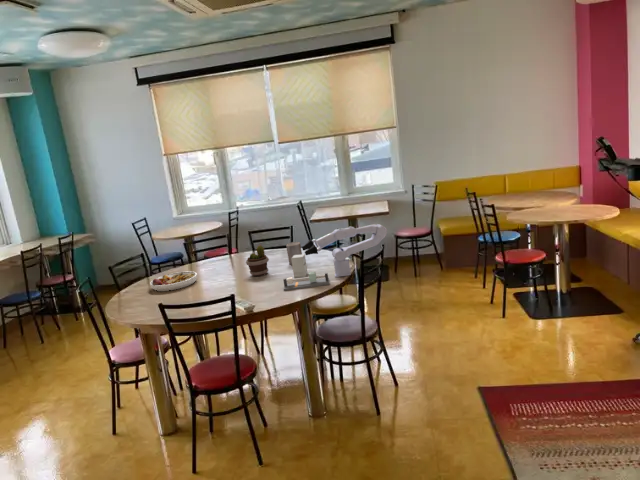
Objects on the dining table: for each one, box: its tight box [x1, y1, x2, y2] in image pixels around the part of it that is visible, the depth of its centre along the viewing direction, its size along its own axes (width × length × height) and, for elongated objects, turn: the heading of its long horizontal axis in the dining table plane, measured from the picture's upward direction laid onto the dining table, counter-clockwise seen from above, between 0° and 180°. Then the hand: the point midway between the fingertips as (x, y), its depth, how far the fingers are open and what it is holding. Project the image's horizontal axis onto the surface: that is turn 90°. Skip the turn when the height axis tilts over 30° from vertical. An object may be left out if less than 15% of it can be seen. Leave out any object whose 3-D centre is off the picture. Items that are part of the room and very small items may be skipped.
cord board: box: [283, 272, 330, 292], centre depth 296 cm, size 26×10×6 cm, turn 89°
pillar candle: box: [285, 241, 303, 266], centre depth 349 cm, size 10×10×15 cm
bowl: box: [149, 270, 198, 292], centre depth 338 cm, size 30×30×8 cm
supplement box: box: [291, 253, 309, 279], centre depth 317 cm, size 7×7×13 cm
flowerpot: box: [245, 244, 270, 277], centre depth 333 cm, size 14×15×20 cm
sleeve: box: [307, 271, 318, 282], centre depth 295 cm, size 4×4×5 cm
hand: (303, 251), depth 301 cm, fingers open, 7 cm apart
